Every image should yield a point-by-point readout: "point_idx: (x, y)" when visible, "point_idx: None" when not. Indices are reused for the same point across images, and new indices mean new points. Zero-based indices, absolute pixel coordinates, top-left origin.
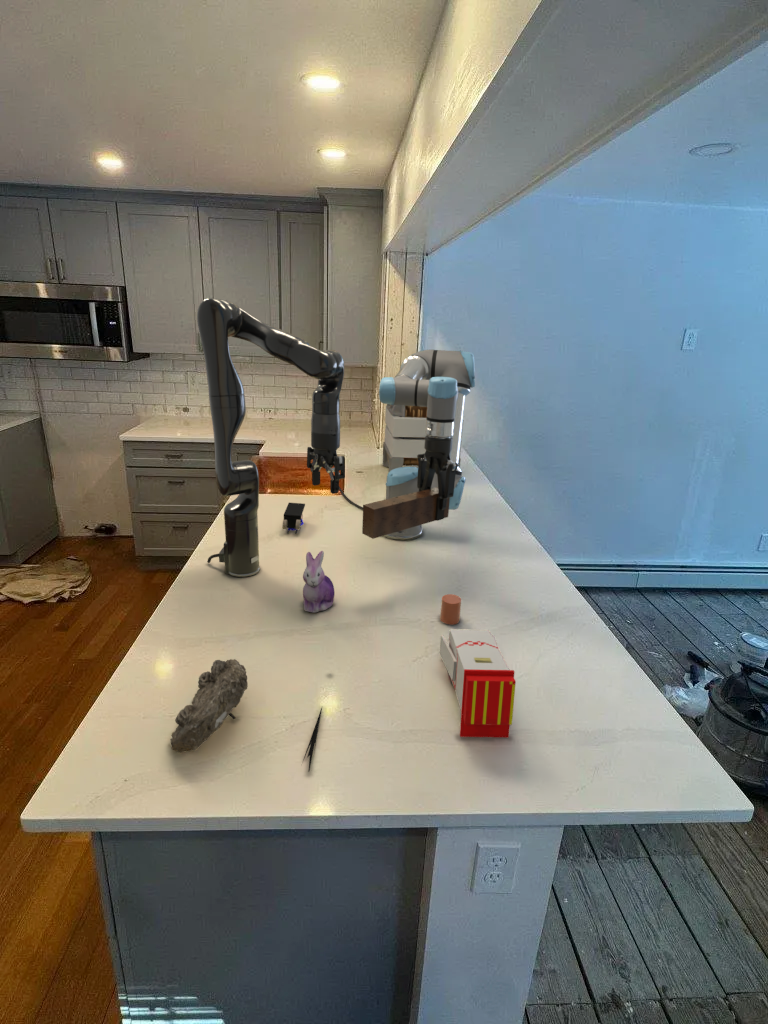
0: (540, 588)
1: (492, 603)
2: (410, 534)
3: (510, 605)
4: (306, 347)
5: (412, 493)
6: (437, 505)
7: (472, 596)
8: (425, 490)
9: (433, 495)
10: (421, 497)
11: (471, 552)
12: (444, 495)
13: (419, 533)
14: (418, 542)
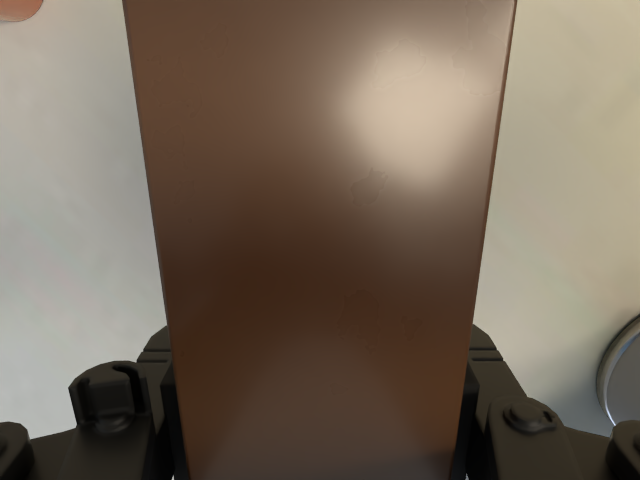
0: (59, 409)
1: (42, 215)
2: (622, 363)
3: (5, 253)
4: None
5: (479, 58)
6: None
7: (118, 197)
8: (433, 405)
9: (173, 353)
10: (138, 29)
11: None
12: (8, 455)
13: (605, 400)
14: (568, 358)
